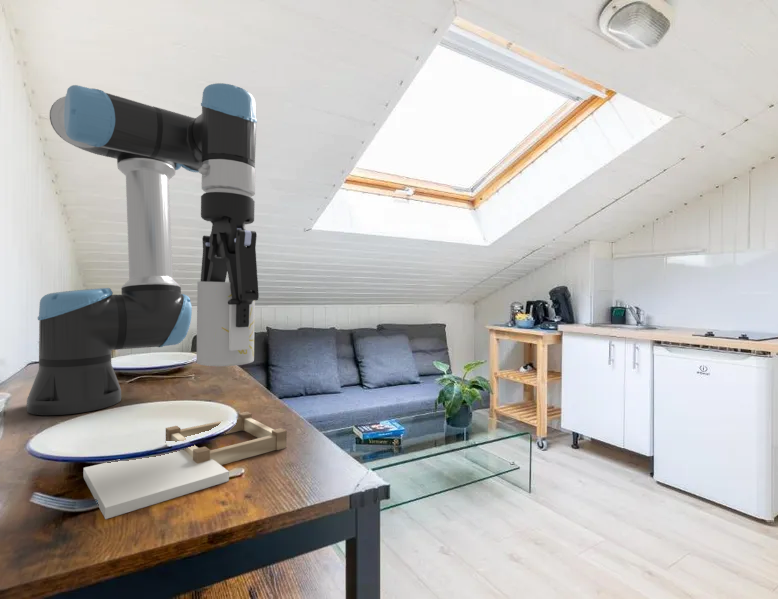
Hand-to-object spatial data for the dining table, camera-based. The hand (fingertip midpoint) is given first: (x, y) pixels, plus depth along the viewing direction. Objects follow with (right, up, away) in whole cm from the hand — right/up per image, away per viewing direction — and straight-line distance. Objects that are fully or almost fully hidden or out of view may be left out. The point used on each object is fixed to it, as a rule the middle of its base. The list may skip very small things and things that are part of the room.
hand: (226, 345), depth 64 cm
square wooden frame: (0, -15, 0) cm, 15 cm away
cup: (0, -3, 0) cm, 3 cm away
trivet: (-4, -15, -11) cm, 20 cm away
